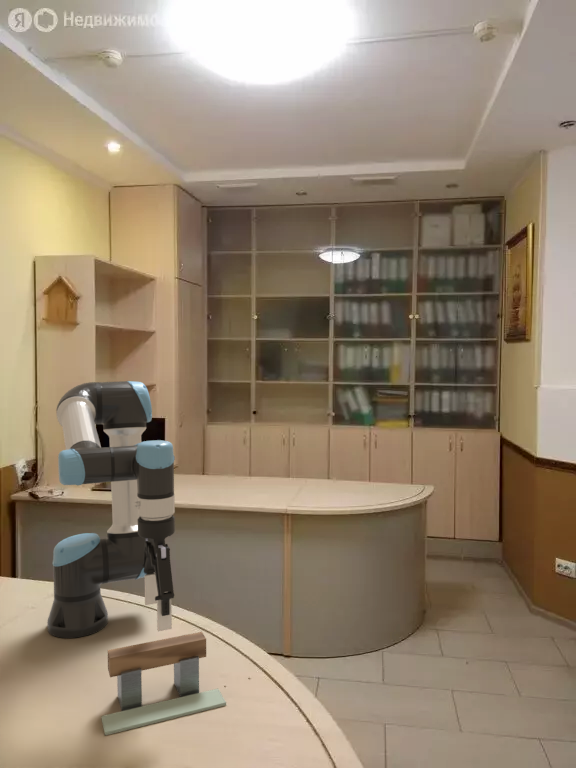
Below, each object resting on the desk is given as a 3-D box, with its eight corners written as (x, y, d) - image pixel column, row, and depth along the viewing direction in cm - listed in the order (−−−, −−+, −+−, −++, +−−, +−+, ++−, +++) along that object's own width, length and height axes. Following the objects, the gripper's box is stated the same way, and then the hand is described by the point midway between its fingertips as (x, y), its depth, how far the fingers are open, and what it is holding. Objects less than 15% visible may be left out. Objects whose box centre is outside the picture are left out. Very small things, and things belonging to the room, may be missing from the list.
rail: (107, 668, 124) (107, 650, 123) (202, 649, 132) (201, 631, 131) (110, 677, 120) (109, 658, 120) (206, 656, 128) (206, 638, 128)
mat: (101, 719, 118) (101, 716, 118) (218, 691, 128) (218, 688, 128) (104, 735, 113) (104, 732, 113) (226, 705, 123) (226, 702, 123)
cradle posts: (117, 695, 126) (116, 659, 126) (191, 678, 132) (191, 643, 132) (121, 712, 120) (121, 673, 120) (199, 693, 127) (198, 657, 126)
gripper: (128, 504, 134) (129, 596, 135) (149, 534, 111) (151, 645, 112) (161, 500, 137) (163, 591, 138) (188, 529, 114) (190, 638, 115)
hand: (157, 616), depth 125 cm, fingers open, 13 cm apart
